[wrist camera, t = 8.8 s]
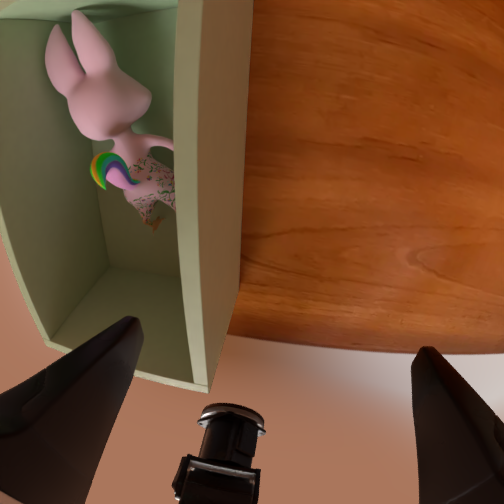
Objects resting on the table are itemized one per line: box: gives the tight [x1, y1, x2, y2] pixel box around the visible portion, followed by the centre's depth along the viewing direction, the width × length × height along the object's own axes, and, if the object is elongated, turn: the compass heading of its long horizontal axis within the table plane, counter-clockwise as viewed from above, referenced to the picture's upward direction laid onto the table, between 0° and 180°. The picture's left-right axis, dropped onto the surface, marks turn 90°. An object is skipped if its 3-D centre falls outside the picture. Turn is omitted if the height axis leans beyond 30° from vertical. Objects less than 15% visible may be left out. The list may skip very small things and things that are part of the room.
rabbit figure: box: [45, 10, 176, 236], centre depth 14 cm, size 6×6×15 cm
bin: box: [0, 0, 254, 393], centre depth 14 cm, size 21×12×10 cm, turn 177°
